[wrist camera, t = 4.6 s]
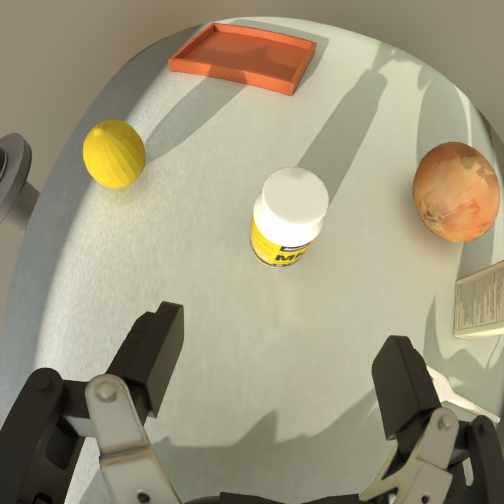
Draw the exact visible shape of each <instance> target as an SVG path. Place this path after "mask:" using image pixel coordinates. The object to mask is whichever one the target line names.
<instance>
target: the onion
mask: <svg viewBox="0 0 504 504" xmlns="http://www.w3.org/2000/svg"><path fill="white" fill-rule="evenodd" d="M413 196H414V201H415V204H416V207H417V210H418V213H419V215H420V217H421V218H422V220H423V222H424V223H425V224H426V225H427V227H428V228H429V229H430V230H431V231H433V232H434V233H435V234H437V235H438V236H440V237H442V238H444V239H446V240H448V241H451V242H468V241H471V240H474V239H476V238H478V237H480V236H481V235H483V234H484V233H485V232H486V231H487V230H488V229H489V228H490V227H491V225H492V224H493V222H494V221H495V219H496V216H497V214H498V211H499V205H500V187H499V182H498V179H497V176H496V174H495V171H494V170H493V168H492V166H491V165H490V163H489V162H488V161H487V160H486V159H485V157H484V156H483V155H481V154H480V153H479V152H478V151H477V150H476V149H474V148H472V147H470V146H468V145H466V144H463V143H460V142H448V143H444V144H441V145H439V146H437V147H435V148H434V149H432V150H431V151H430V152H428V153H427V154H426V155H425V156H424V158H423V159H422V160H421V162H420V164H419V166H418V169H417V171H416V175H415V178H414V183H413Z"/></svg>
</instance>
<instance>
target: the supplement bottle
mask: <svg viewBox="0 0 504 504" xmlns="http://www.w3.org/2000/svg"><path fill="white" fill-rule="evenodd" d="M328 205H329V194H328V191H327V188H326V186H325V185H324V183H323V182H322V181H321V179H320V178H319V177H318V176H316V175H315V174H314V173H312V172H310V171H308V170H306V169H303V168H299V167H285V168H281V169H279V170H277V171H275V172H273V173H272V174H271V175H270V176H269V177H268V178H267V179H266V181H265V183H264V185H263V189H262V191H261V192H260V194H259V195H258V197H257V198H256V200H255V203H254V208H253V217H252V226H251V235H250V244H251V248H252V251H253V253H254V255H255V256H256V257H257V259H258V260H259V261H261V262H262V263H263V264H265V265H267V266H270V267H273V268H284V267H288V266H291V265H293V264H294V263H296V262H297V261H298V260H299V259H300V258H301V256H302V255H303V254H304V253H305V251H306V250H307V249H308V247H309V246H310V245H311V243H312V242H313V241H314V239H315V238H316V237H317V235H318V234H319V232H320V231H321V228H322V226H323V223H324V215H325V213H326V211H327V209H328Z"/></svg>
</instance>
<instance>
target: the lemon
mask: <svg viewBox="0 0 504 504" xmlns="http://www.w3.org/2000/svg"><path fill="white" fill-rule="evenodd" d="M83 157H84V161H85V164H86V167H87V169H88V171H89V173H90V174H91V175H92V176H93V178H94V179H95V180H96V181H97V182H99V183H100V184H102V185H104V186H106V187H110V188H122V187H125V186H127V185H129V184H131V183H132V182H134V181H135V180H136V179H137V178H138V177H139V175H140V174H141V172H142V170H143V168H144V164H145V149H144V145H143V142H142V140H141V138H140V136H139V135H138V134H137V132H136V131H135V130H134V129H133V128H132V127H131V126H130V125H129V124H127V123H125V122H123V121H120V120H107V121H104V122H101V123H99V124H98V125H96V126H95V127H94V128H93V129H92V130H91V131H90V132H89V134H88V135H87V137H86V139H85V142H84V145H83Z"/></svg>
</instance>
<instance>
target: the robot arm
mask: <svg viewBox="0 0 504 504" xmlns="http://www.w3.org/2000/svg"><path fill="white" fill-rule="evenodd" d="M7 163H8V154H7V152H6V151H5V150H4V149H2V148H1V147H0V182H1V180H2V178H3V176H4V173H5V171H6V168H7ZM183 340H184V308H183V305H180V304H175V303H170V302H166V301H163V302H162V303H161V304H160V306H159V308H158V310H157V311H156V313H152V312H148V311H147V312H146V313H145V314H143V315H142V316H140V317H139V318H138V319H137V320H136V321H135V323H134V325H133V326H132V328H131V331H129V333H128V335H127V337H126V340H124V342H123V343H122V345H121V347H120V349H119V350H118V352H117V354H116V356H115V357H114V359H113V361H112V363H111V364H110V366H109V368H108V370H107V371H106V372H105V374H102V375H98V376H96V377H94V378H93V379H91V380H90V381H88V382H81V381H71V380H63V379H62V378H61V376H60V374H59V373H58V372H57V371H56V370H54V369H51V368H40V369H37V370H35V371H34V372H33V373H32V374H31V375H30V376H29V378H28V380H27V381H26V383H25V385H24V387H23V388H22V390H21V392H20V394H19V395H18V397H17V399H16V401H15V403H14V405H13V407H12V408H11V410H10V412H9V414H8V416H7V418H6V420H5V422H4V424H3V427H2V429H1V431H0V504H64V502H65V499H66V495H67V492H68V488H69V485H70V482H71V479H72V476H73V472H74V469H75V466H76V463H77V461H78V458H79V455H80V452H81V449H82V446H83V444H84V441H85V438H86V437H94V438H96V440H97V444H98V447H99V450H100V456H99V463H100V467H101V470H102V473H103V476H104V478H105V481H106V483H107V486H108V488H109V491H110V493H111V496H112V498H113V500H114V502H115V504H182V502H181V501H180V499H179V497H178V495H177V494H176V492H175V490H174V488H173V487H172V485H171V483H170V481H169V479H168V478H167V476H166V474H165V472H164V470H163V468H162V466H161V464H160V462H159V460H158V458H157V456H156V454H155V452H154V450H153V447H152V445H151V443H150V441H149V438H148V436H147V434H146V431H145V429H144V427H143V426H144V424H145V421H146V418H147V416H149V417H152V418H156V417H157V415H158V412H159V409H160V406H161V403H162V400H163V398H164V395H165V392H166V389H167V387H168V384H169V381H170V378H171V376H172V373H173V370H174V368H175V365H176V362H177V360H178V357H179V354H180V352H181V349H182V345H183ZM372 377H373V381H374V385H375V389H376V394H377V398H378V402H379V407H380V412H381V416H382V421H383V426H384V431H385V436H386V440H394V439H397V444H396V445H395V446H394V448H393V449H392V451H391V453H390V455H389V457H388V459H387V461H386V462H385V464H384V466H383V468H382V469H381V471H380V473H379V474H378V476H377V478H376V479H375V481H374V482H373V483H372V484H371V485H370V486H369V487H368V488H367V489H366V490H365V491H364V492H363V493H362V494H361V495H360V497H359V494H352V495H342V496H330V497H325V498H322V499H318V500H314V501H311V502H307V503H303V504H504V460H503V456H502V452H501V448H500V444H499V441H498V437H497V434H496V431H495V427H494V425H493V422H492V421H491V419H490V418H488V417H487V416H485V415H479V416H477V417H476V418H475V419H474V420H473V421H471V422H465V421H460V420H458V419H457V416H456V415H455V414H454V412H452V411H451V410H450V409H448V408H442V406H441V403H440V400H439V397H438V395H437V392H436V389H435V386H434V384H433V381H432V379H431V378H430V374H429V371H428V370H427V366H426V364H425V362H424V359H423V357H422V356H421V355H420V354H419V353H418V351H417V350H416V349H414V348H413V346H412V344H411V341H410V339H409V338H408V337H407V336H394V335H391V336H389V337H388V338H387V340H386V342H385V343H384V345H383V346H382V348H381V350H380V351H379V353H378V355H377V356H376V358H375V359H374V361H373V364H372ZM469 457H470V460H471V465H472V470H473V476H474V481H473V483H472V485H471V486H470V487H469V488H467V486H466V481H465V475H464V469H463V464H462V462H463V461H464V460H466V459H467V458H469ZM184 504H284V503H280V502H276V501H272V500H269V499H265V498H262V497H258V496H251V495H241V494H233V493H226V492H220V496H211V497H204V498H199V499H195V500H192V501H189V502H186V503H184Z"/></svg>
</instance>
